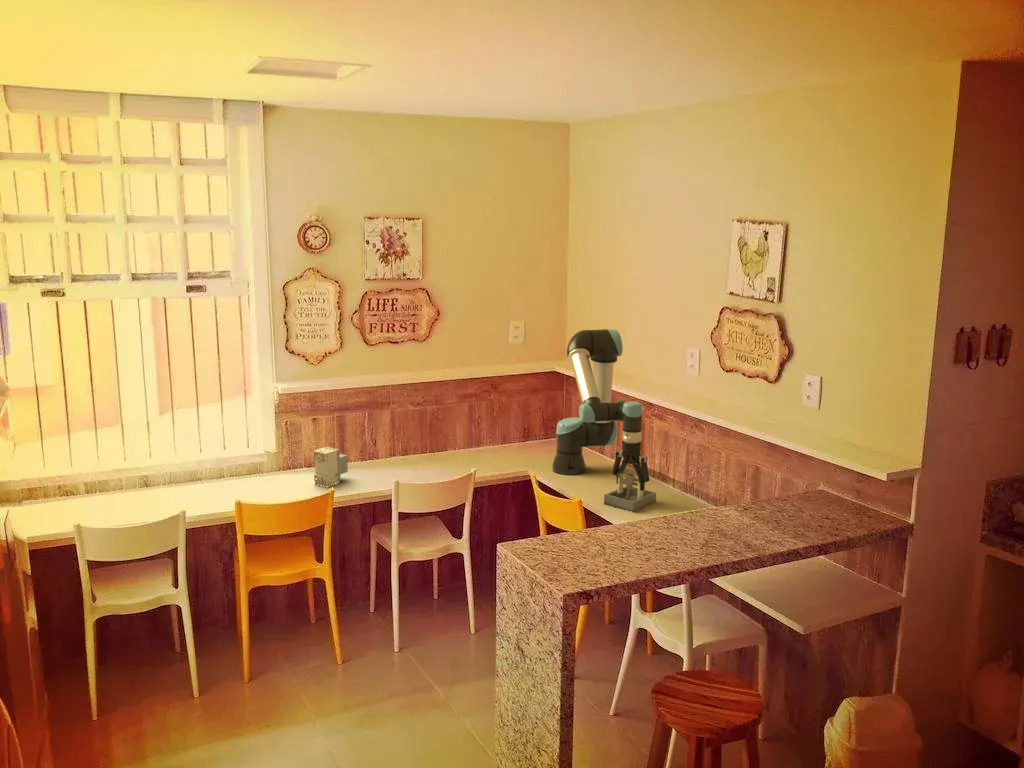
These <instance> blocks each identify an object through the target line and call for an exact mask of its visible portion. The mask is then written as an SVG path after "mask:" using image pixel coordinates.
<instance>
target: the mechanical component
mask: <svg viewBox="0 0 1024 768" xmlns="http://www.w3.org/2000/svg"><path fill="white" fill-rule="evenodd" d="M617 478H619V482H620V483H621V484H623V485H625V486H626V488H627V499H630V496H631V489H632V488H633V487H635V486H636V487H638V483H639V482H640V481H639V479H638V478H636V477H635V474H634V473H627V472H626V473H625V472H623V473H620V475H619V474H618V475H617V477H616V479H617Z"/></svg>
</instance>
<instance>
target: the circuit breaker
mask: <svg viewBox="0 0 1024 768" xmlns="http://www.w3.org/2000/svg"><path fill="white" fill-rule="evenodd" d="M312 460H313V461H314V467H315V471H314V472H315V473H314V474H313V480H314V485H315V484H316V485H315V486H318V484H319V485H322V486H323V485H324V486H326V487H327V486H331V487H333V486H334V485H333V484H335V483H338V482H340V481H341V482H342V480H341V476H342V475H343V474H346V473H348V472H349V471H348V467H349V466H348V463H349V460H348V455H347V454H344V453H343V454H342V453H340V449H339V448H334V447H331V446H325V447H320V448H318V449H315V450H313V454H312ZM332 485H333V486H332ZM322 486H321V487H322ZM326 487H325V488H326Z"/></svg>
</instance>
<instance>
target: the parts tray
mask: <svg viewBox="0 0 1024 768" xmlns="http://www.w3.org/2000/svg"><path fill="white" fill-rule="evenodd" d="M626 486H627V485H625V486H624V485H623V492H621V493H618V488H617V489H614V490H612V491H610V492H608V493H605V494H604V496H603V505H605V506H608V507H612V506H613V508H616V507H617V508H616V509H619V508H620V510H623V509H624V511H626V510H628V511H627V512H630V511H632V512H631V513H635V512H637V511H639V510H641V508H642V509H644V508H646V507H648V506H651V505H652V503H653V504H655V503H657V492H655V491H651V490H647V489H644V490H643V497H642V498H639V499H638V487H637V486H636V487H635V486H632V487H633V488H632V489H631V496H630V499H627V488H626ZM650 504H651V505H650ZM645 506H646V507H645ZM643 507H644V508H643ZM638 509H639V510H638ZM636 510H637V511H636ZM634 511H635V512H634Z"/></svg>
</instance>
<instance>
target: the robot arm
mask: <svg viewBox="0 0 1024 768" xmlns="http://www.w3.org/2000/svg"><path fill="white" fill-rule="evenodd" d="M623 350H624V349H623V341H622V337H621V334H620V332H619V331H618V330H616V329H609V328H606V329H605V328H604V329H602V328H601V329H583V330H579V331H577V332H576V333H575V334H573V336H572V337H571V338H570V339H569V341H568V344H567V347H566V357H567V361H568V362H569V363H570V364H571V366H572V370H573V373H574V377H575V381H576V384H577V385H576V386H577V389H578V392H579V396H580V400H581V404H580V405H579V407H578V414H579V415H578V416H579V417H567V418H564V419H561V420H559V421H558V422H557V424H556V431H555V433H556V446H555V447H556V448H555V449H556V454H555V457H554V459H553V463H552V469H551V470H552V472H554V473H557V474H559V473H560V474H559V475H567V476H568V475H570V476H572V475H573V476H574V475H575V476H576V475H581V474H583V473H585V472H587V465H586V462H585V458H584V455H583V448H592V447H593V448H594V447H595V448H596V447H608V446H612V445H613V444H614V443H615V441H616V440H617V435H618V425H617V422H618V421H619V422H622V430H621V431H622V433H621V434H622V436H621V440H622V441H621V449H622V450H618V451H615V459H614V463H613V468H612V475H614V476H615V477H616V482H615V483H616V485H617V489H618V493H621V492H623V487H624V484H621V483H620V482H619V478H617V475H618V474H619V475H620V473H625V470H626V468H627V467H628V466H627V465H628V464H630V465H632V467H633V468H634V469H635V473H636V475H637V479H639V481H640V482H637V483H638V486H637V488H638V499H639V498H642V497H643V490H646V487H645V485H646V483H647V482H648V483H649V482H650V473H649V469H648V468H649V467H648V456H642V455H641V451H642V442H641V441H642V426H643V425H642V423H643V413H644V412H643V405H642V403H641V402H638V401H634V400H633V401H630V400H629V401H627V400H624V399H618V400H616V401H615V402H612V392H613V391H612V390H613V376H614V364H615V363H617V362H618V357H621V356H622V354H623ZM590 361H591V362H592V363H593V369H592V365H591V362H590Z"/></svg>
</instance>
